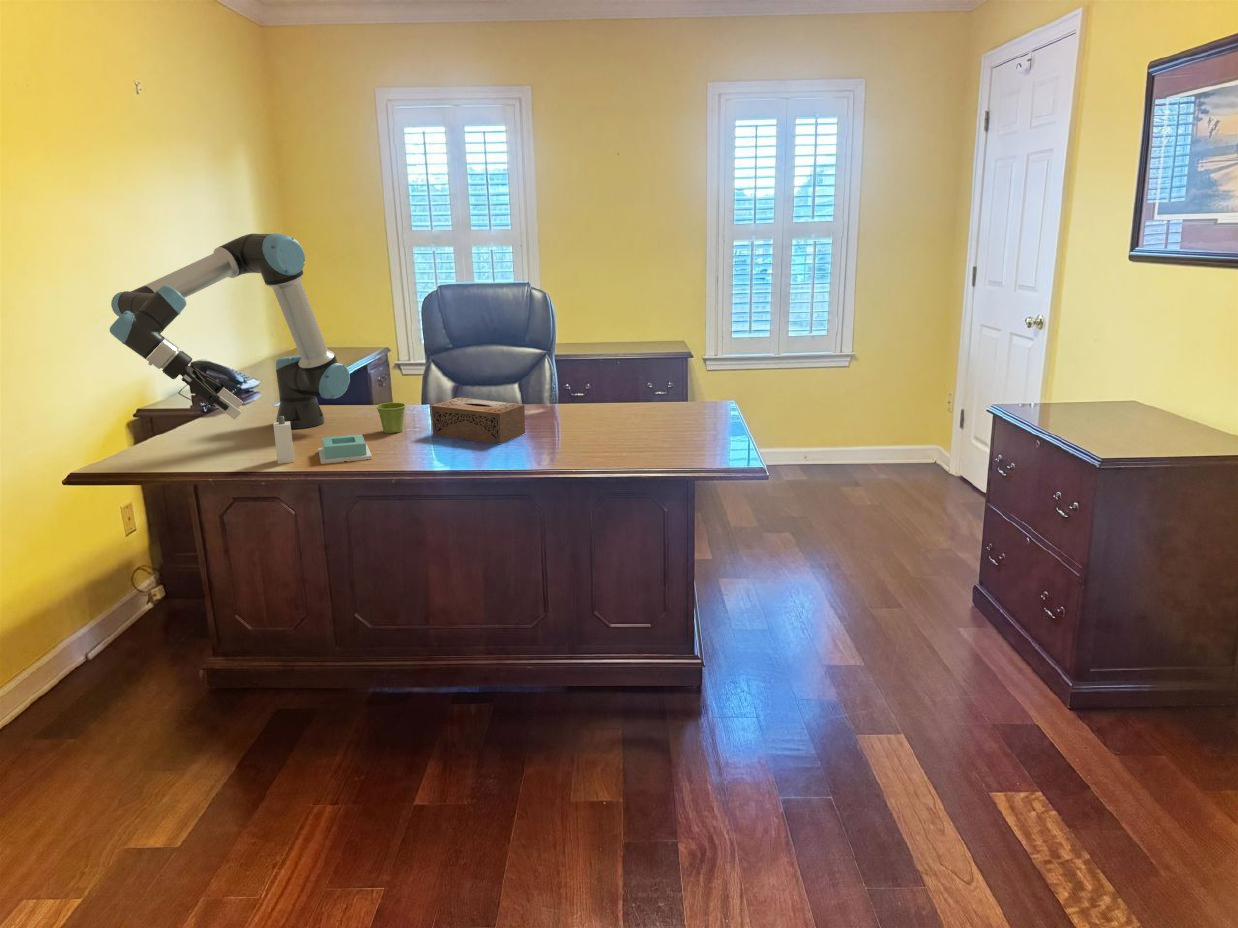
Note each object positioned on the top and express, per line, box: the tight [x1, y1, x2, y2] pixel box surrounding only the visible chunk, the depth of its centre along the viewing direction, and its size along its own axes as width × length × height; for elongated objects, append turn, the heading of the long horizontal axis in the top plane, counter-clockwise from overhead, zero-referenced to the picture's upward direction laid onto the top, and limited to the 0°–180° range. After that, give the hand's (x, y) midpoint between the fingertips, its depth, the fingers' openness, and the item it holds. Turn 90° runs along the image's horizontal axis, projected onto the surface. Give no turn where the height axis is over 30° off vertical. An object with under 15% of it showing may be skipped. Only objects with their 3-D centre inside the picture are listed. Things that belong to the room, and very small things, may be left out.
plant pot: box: [375, 402, 407, 434], centre depth 270 cm, size 9×9×9 cm
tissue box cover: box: [431, 397, 526, 444], centre depth 267 cm, size 26×14×10 cm, turn 65°
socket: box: [317, 434, 373, 465], centre depth 243 cm, size 14×14×4 cm
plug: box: [273, 416, 295, 465], centre depth 236 cm, size 4×4×13 cm
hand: (239, 411), depth 229 cm, fingers open, 13 cm apart
